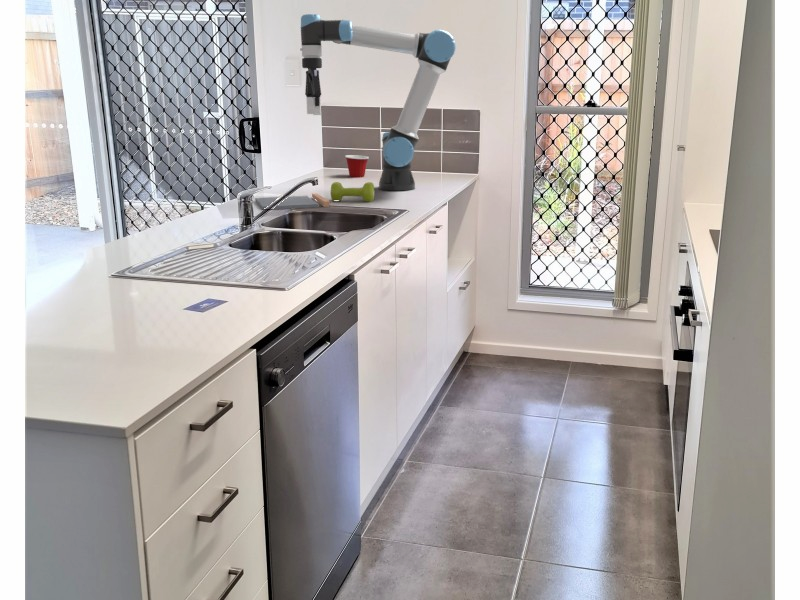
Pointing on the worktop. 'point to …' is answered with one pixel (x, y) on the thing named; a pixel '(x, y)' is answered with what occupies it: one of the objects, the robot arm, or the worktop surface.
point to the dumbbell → (352, 191)
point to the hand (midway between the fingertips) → (313, 114)
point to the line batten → (321, 200)
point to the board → (288, 202)
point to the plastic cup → (356, 165)
